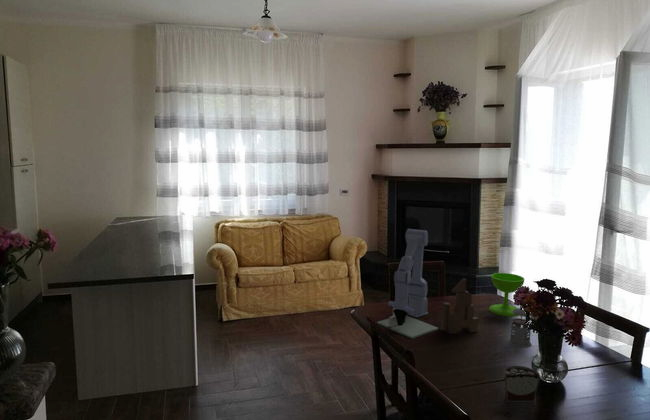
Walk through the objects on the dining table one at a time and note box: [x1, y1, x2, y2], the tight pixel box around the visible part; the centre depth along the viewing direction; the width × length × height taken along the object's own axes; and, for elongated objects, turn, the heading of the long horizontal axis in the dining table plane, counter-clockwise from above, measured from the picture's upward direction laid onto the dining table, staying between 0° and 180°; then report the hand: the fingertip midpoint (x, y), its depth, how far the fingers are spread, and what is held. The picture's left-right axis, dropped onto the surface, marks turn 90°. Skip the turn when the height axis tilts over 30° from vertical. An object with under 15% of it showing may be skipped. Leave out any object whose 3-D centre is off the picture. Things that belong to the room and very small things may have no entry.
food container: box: [502, 365, 542, 403], centre depth 163 cm, size 12×6×10 cm, turn 92°
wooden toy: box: [440, 277, 479, 335], centre depth 219 cm, size 16×7×25 cm, turn 104°
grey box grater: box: [507, 307, 533, 349], centre depth 207 cm, size 10×12×25 cm
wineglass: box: [488, 272, 525, 317], centre depth 247 cm, size 16×16×18 cm
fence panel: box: [388, 315, 404, 327], centre depth 223 cm, size 9×1×4 cm, turn 131°
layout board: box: [376, 314, 439, 340], centre depth 224 cm, size 18×22×1 cm
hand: (400, 325), depth 219 cm, fingers closed
